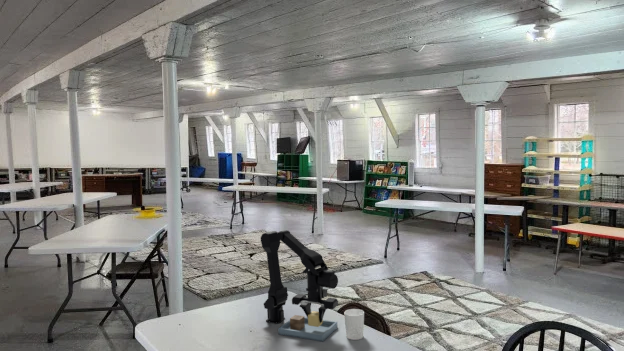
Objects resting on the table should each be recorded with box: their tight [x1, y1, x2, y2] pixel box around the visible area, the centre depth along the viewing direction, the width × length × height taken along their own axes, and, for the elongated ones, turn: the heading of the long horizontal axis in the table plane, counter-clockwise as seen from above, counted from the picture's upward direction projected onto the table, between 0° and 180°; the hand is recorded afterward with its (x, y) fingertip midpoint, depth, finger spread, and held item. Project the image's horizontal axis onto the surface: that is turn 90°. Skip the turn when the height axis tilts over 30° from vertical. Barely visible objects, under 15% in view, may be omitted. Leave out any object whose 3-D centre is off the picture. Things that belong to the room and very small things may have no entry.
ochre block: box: [308, 310, 324, 327], centre depth 193 cm, size 4×4×4 cm
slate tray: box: [277, 316, 338, 343], centre depth 194 cm, size 20×15×2 cm
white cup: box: [343, 308, 365, 341], centre depth 187 cm, size 8×8×10 cm
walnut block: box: [289, 314, 305, 331], centre depth 196 cm, size 4×4×4 cm
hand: (315, 321), depth 193 cm, fingers closed on ochre block, 4 cm apart
